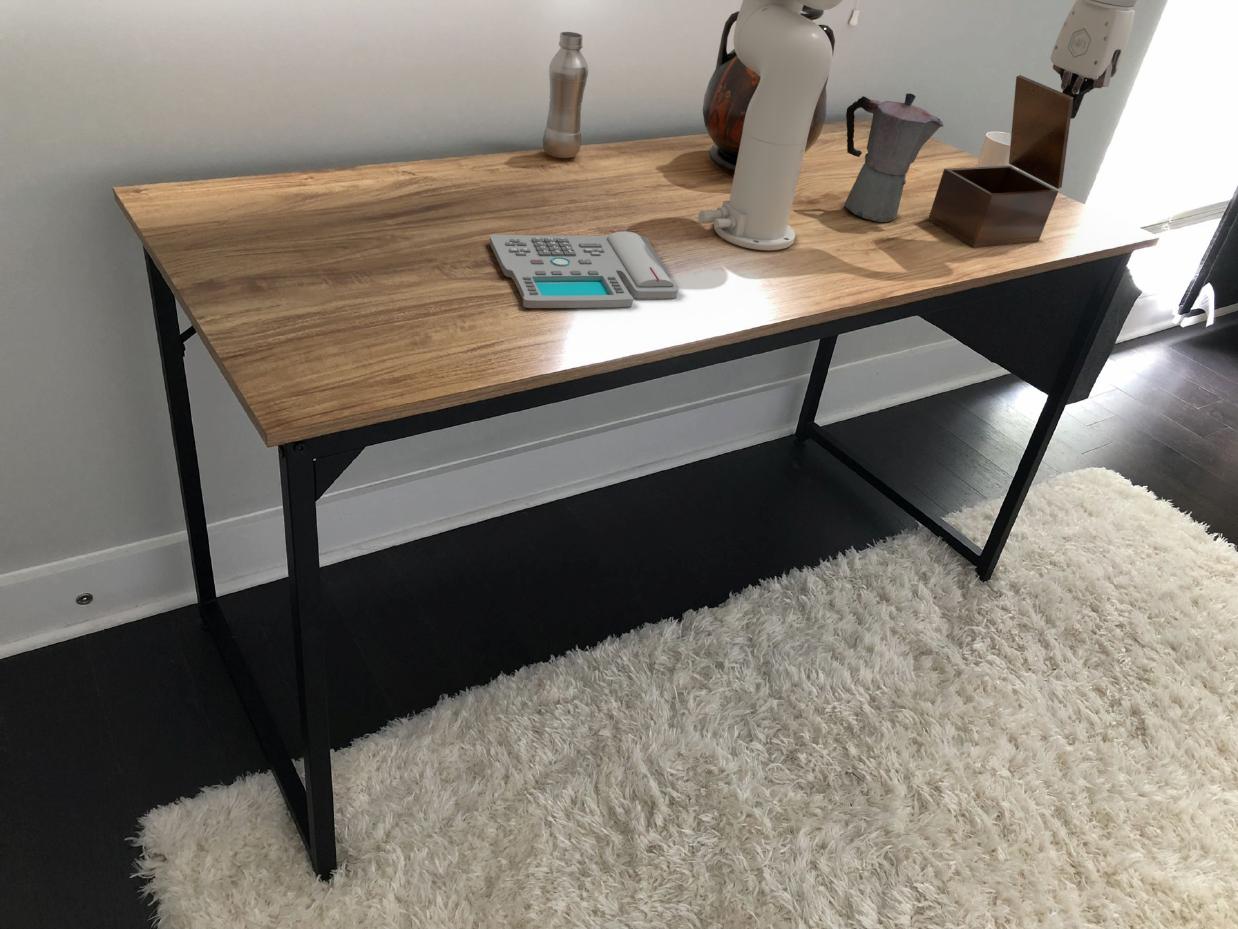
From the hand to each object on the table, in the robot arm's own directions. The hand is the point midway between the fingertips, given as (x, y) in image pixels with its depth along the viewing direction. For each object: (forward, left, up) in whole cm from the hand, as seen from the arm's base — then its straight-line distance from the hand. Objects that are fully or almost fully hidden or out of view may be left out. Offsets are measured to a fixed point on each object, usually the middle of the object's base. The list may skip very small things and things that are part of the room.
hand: (1064, 116), depth 158 cm
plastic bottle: (-70, +41, -19) cm, 83 cm away
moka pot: (-26, +10, -19) cm, 34 cm away
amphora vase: (-36, +32, -19) cm, 52 cm away
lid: (-5, 0, -3) cm, 5 cm away
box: (-9, 0, -19) cm, 21 cm away
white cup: (+6, +15, -19) cm, 25 cm away
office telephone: (-84, -3, -19) cm, 86 cm away
